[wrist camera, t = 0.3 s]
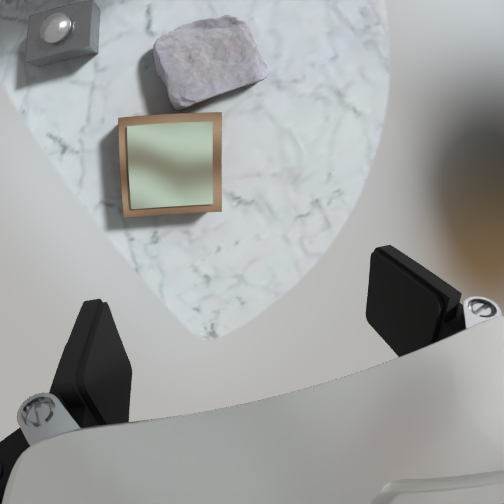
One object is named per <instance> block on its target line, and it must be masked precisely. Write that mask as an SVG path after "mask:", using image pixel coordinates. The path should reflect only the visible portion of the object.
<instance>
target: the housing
mask: <svg viewBox="0 0 504 504" xmlns="http://www.w3.org/2000/svg"><path fill="white" fill-rule="evenodd" d="M99 25H100V9H99V8H98V6H97V5H96V3H95V2H94V0H89V1H84V2H79V3H75V4H71V5H67V6H63V7H59V8H55V9H52V10H48V11H45V12H42V13H38V14H35V15H32V16H29V25H28V35H27V47H26V62H27V63H30V64H33V65H36V66H38V67H40V66H44V65H48V64H52V63H56V62H60V61H64V60H69V59H73V58H78V57H83V56H88V55H93V54H98V44H99Z"/></svg>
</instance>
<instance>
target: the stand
mask: <svg viewBox="0 0 504 504" xmlns="http://www.w3.org/2000/svg"><path fill="white" fill-rule="evenodd" d="M118 130H119V158H120V176H121V190H122V202H123V213H124V218H128V217H141V216H155V215H170V214H186V213H203V212H222V176H221V153H222V112H215V113H178V114H160V115H146V116H133V117H123V118H118Z"/></svg>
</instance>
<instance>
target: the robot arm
mask: <svg viewBox="0 0 504 504" xmlns="http://www.w3.org/2000/svg"><path fill="white" fill-rule="evenodd" d="M460 298H461V293H460V292H459V291H457V290H456V289H455V288H453V287H452V286H451V285H449V284H447V283H446V282H445V281H443V280H442V279H440V278H439V277H438V276H436V275H435V274H433V273H432V272H430V271H429V270H427V269H426V268H424V267H423V266H422V265H420V264H419V263H417V262H416V261H414V260H413V259H411V258H409V257H408V256H406V255H405V254H404V253H402V252H400V251H399V250H397V249H396V248H394V247H393V246H391V245H387V246H382V247H378V248H376V249H375V250H374V252H373V253H372V254H371V260H370V274H369V285H368V297H367V307H366V318H367V321H368V323H369V324H370V325H371V326H372V327H373V328H374V329H375V331H376V332H377V333H378V334H379V335H380V336H381V337H382V338H383V339H384V340H385V342H386V343H387V344H388V345H389V346H390V347H391V348H392V349H393V351H394V352H395V353H396V354H397V355H398V356H399V357H398V358H396V359H393V360H391V361H388V362H385V363H382V364H380V365H377V366H374V367H371V368H369V369H366V370H363V371H360V372H357V373H354V374H351V375H348V376H345V377H342V378H339V379H335V380H332V381H329V382H326V383H323V384H319V385H316V386H313V387H309V388H305V389H302V390H298V391H294V392H291V393H287V394H283V395H279V396H275V397H271V398H267V399H263V400H258V401H254V402H249V403H245V404H240V405H236V406H231V407H226V408H221V409H215V410H210V411H205V412H198V413H193V414H186V415H180V416H173V417H166V418H159V419H151V420H143V421H134V422H129V406H130V391H131V380H132V368H131V364H130V361H129V359H128V356H127V354H126V352H125V349H124V347H123V344H122V341H121V339H120V336H119V334H118V331H117V328H116V325H115V322H114V320H113V317H112V314H111V311H110V308H109V306H108V304H107V302H104V303H103V302H102V300H101V299H96V300H89V301H84V303H83V305H82V307H81V310H80V312H79V315H78V317H77V319H76V322H75V325H74V327H73V330H72V332H71V335H70V337H69V340H68V342H67V344H66V346H65V348H64V351H63V354H62V357H61V359H60V362H59V365H58V368H57V371H56V374H55V377H54V380H53V383H52V386H51V389H50V392H49V393H39V394H35V395H33V396H31V397H29V398H28V399H27V400H25V401H24V402H23V404H22V405H21V406H20V408H19V410H18V413H17V420H18V424H19V426H20V428H19V429H17V430H16V431H15V432H13V433H12V434H11V435H9V436H8V437H6V438H5V439H4V440H2V441H1V442H0V504H504V316H502V313H501V310H500V308H499V306H498V305H497V304H496V303H495V302H493V301H492V300H490V299H488V298H485V297H480V296H473V297H469V298H467V299H466V300H465V301H464V303H463V305H462V304H461V303H459V302H460Z"/></svg>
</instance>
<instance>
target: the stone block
mask: <svg viewBox="0 0 504 504" xmlns="http://www.w3.org/2000/svg"><path fill="white" fill-rule="evenodd" d="M153 57H154V62H155V69H156V73H157V74H158V75H159V77H160V78H161V81H162V82H163V83H164V84H165V85H166V88H167V93H168V98H169V100H170V102H171V104H172V105H173V107H174V108H175V109H176V110H183V109H185V108H187V107H190V106H192V105H195V104H197V103H200V102H202V101H205V100H207V99H210V98H213V97H215V96H218V95H221V94H223V93H226V92H229V91H232V90H235V89H237V88H240V87H243V86H247V85H249V84H253V83H256V82H259V81H262V80H264V79H265V78H266V77H267V75H268V73H269V71H268V68H267V65H266V64H265V62H264V59H263V58H262V56H261V54H260V52H259V50H258V47H257V45H256V42H255V40H254V37H253V35H252V33H251V31H250V28H249V26H248V25H247V24H246V23H245V22H244V21H241V20H239V19H238V18H237V17H234V16H229V15H225V16H222V17H220V18H217V19H205V20H199V21H195V22H193V23H189V24H185V25H182V26H180V27H178V28H177V29H175V30H174V31H172V32H169V33H168V34H166V35H165V36H163V37H161V38H159V39H157V40H156V41H155V44H154V47H153Z"/></svg>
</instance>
